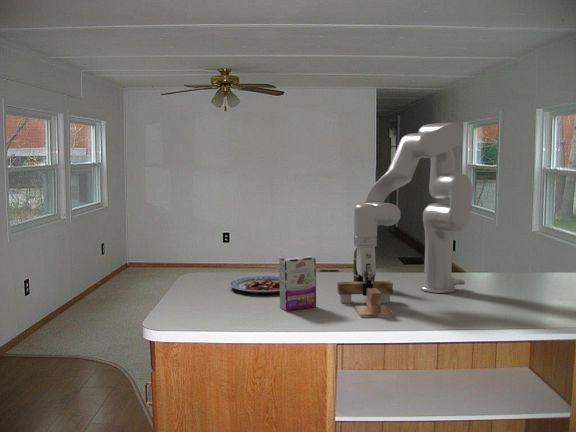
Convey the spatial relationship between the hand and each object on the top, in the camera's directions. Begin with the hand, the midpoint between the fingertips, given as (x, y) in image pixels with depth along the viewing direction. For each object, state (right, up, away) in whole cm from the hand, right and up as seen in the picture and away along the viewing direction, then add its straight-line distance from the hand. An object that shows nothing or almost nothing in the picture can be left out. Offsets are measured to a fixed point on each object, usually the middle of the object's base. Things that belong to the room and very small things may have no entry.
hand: (364, 292), depth 194 cm
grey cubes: (0, -3, 0) cm, 3 cm away
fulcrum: (+1, -5, -14) cm, 14 cm away
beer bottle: (+3, -1, +22) cm, 23 cm away
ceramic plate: (-34, -2, +21) cm, 40 cm away
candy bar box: (-23, -4, -7) cm, 24 cm away
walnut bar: (0, 0, 0) cm, 0 cm away
